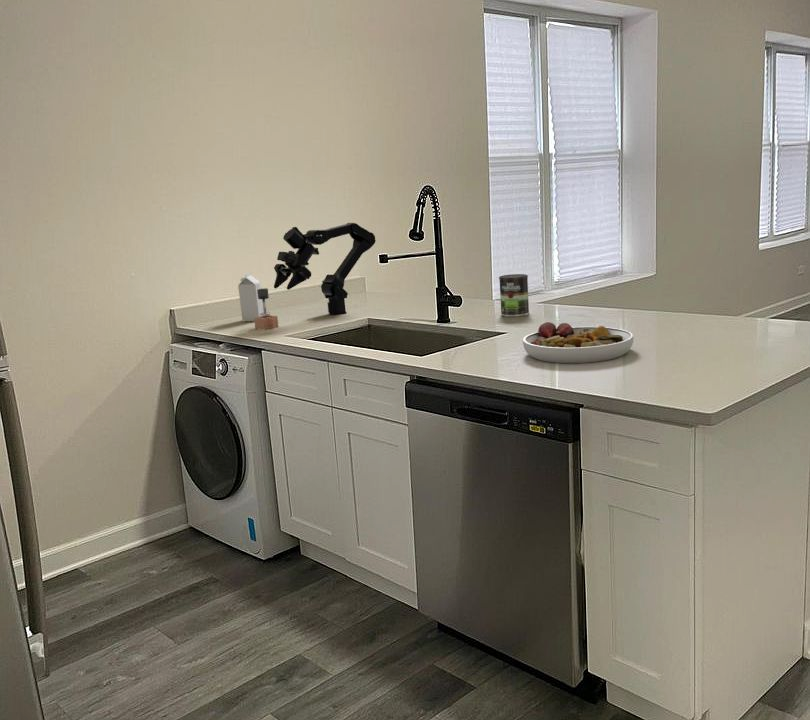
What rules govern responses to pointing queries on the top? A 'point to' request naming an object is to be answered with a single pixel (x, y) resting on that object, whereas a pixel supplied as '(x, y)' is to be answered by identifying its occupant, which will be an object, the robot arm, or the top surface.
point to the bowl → (577, 343)
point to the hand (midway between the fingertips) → (280, 288)
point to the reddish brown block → (266, 322)
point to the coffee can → (514, 295)
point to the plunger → (263, 299)
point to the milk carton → (250, 298)
